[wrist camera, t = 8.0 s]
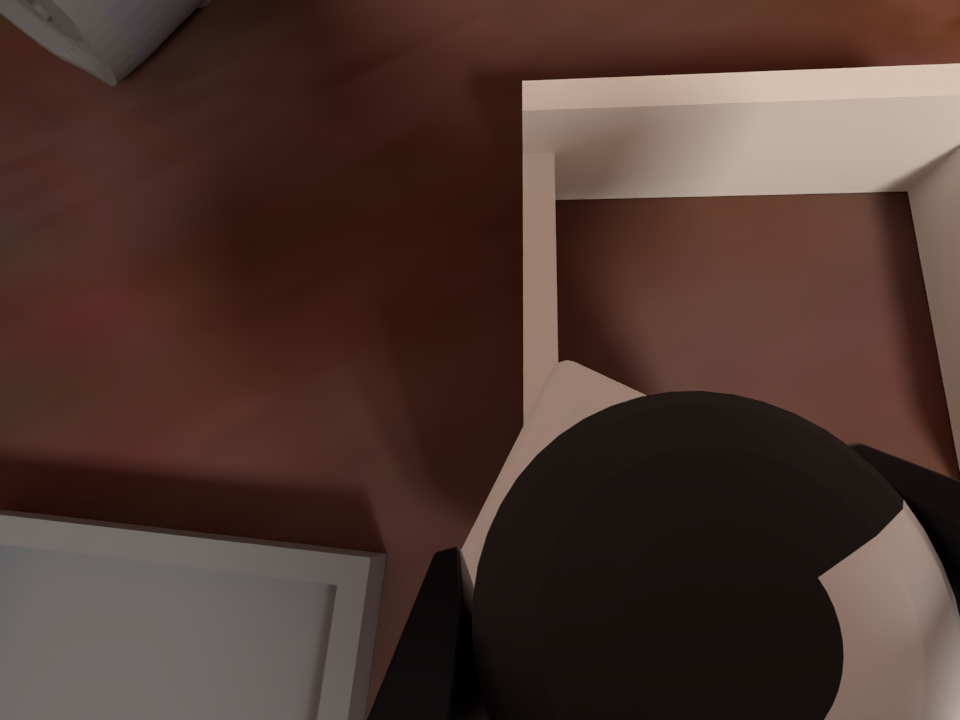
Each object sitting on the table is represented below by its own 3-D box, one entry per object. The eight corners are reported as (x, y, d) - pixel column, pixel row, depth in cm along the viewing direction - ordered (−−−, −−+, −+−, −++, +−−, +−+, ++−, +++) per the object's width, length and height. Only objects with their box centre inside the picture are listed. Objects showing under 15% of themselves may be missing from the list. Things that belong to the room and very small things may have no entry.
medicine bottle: (448, 614, 18) (307, 773, 7) (550, 409, 20) (575, 252, 8) (668, 742, 17) (957, 1211, 5) (760, 511, 18) (1148, 497, 7)
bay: (1000, 501, 22) (1172, 495, 16) (524, 495, 23) (523, 487, 17) (932, 165, 25) (1053, 59, 19) (523, 176, 26) (522, 81, 21)
